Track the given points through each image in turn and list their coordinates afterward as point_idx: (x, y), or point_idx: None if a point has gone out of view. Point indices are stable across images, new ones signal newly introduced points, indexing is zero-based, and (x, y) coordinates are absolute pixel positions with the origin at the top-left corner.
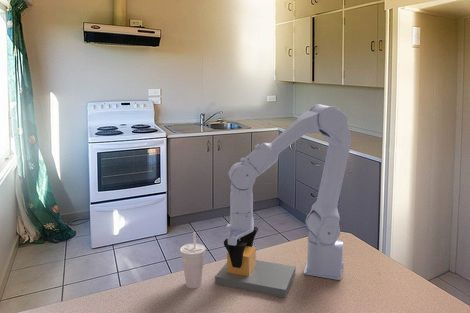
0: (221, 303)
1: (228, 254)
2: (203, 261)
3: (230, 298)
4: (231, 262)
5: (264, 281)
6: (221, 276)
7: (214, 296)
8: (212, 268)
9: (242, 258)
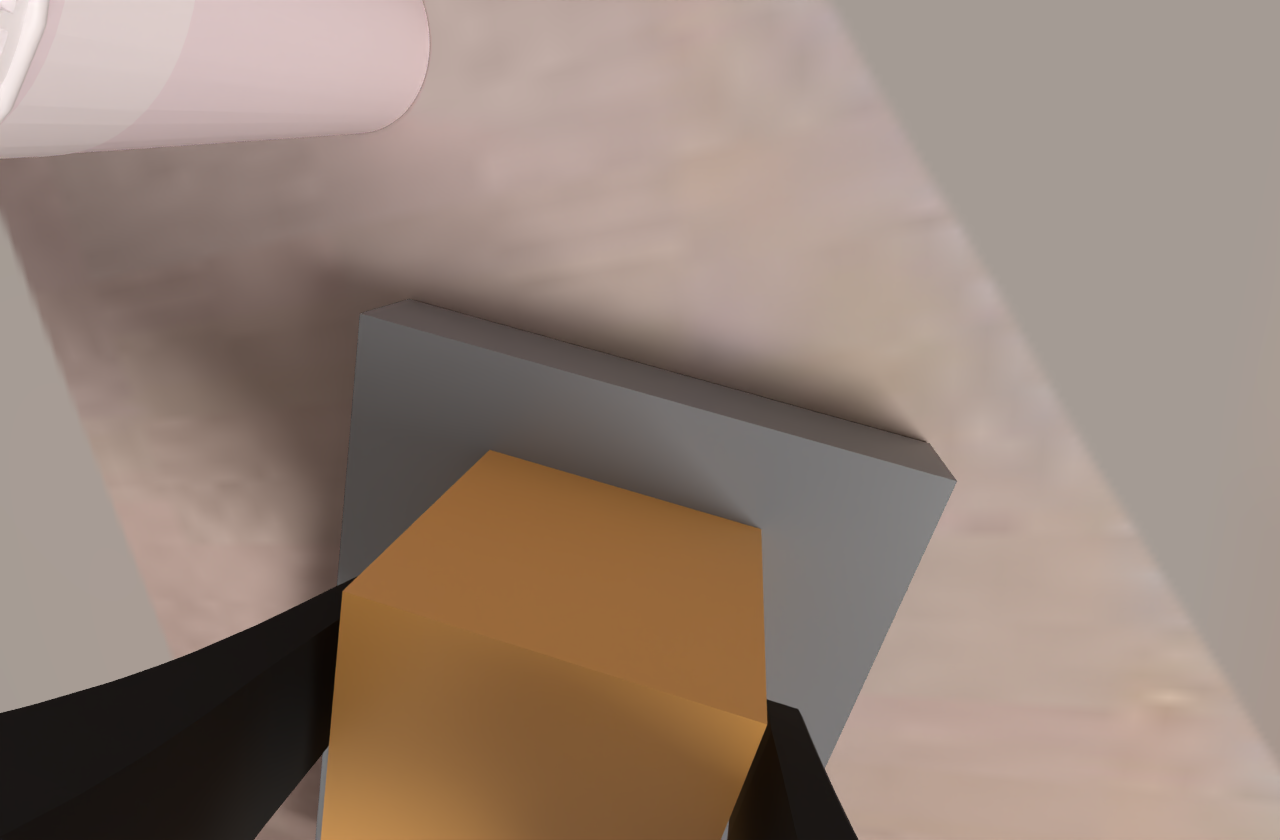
0: (134, 400)
1: (346, 605)
2: (103, 150)
3: (224, 469)
4: (313, 598)
5: None
6: (383, 390)
7: (207, 324)
8: (766, 203)
9: (283, 791)
